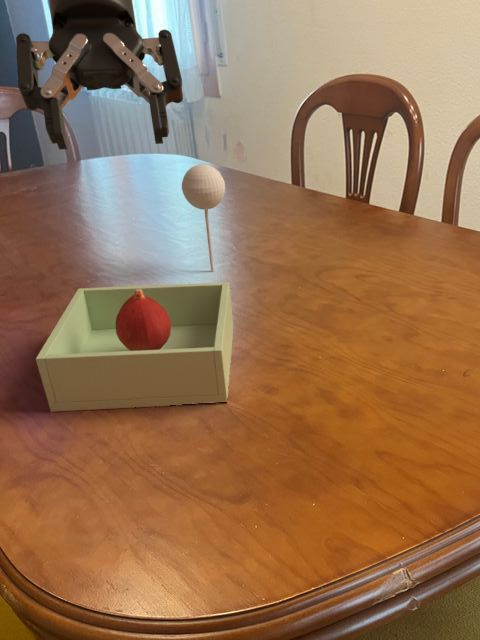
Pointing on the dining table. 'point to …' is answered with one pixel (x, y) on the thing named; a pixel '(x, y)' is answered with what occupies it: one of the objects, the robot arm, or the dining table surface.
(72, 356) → the bin
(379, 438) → the dining table surface
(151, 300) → the red kuri squash
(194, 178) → the lollipop
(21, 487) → the dining table surface
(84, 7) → the robot arm
